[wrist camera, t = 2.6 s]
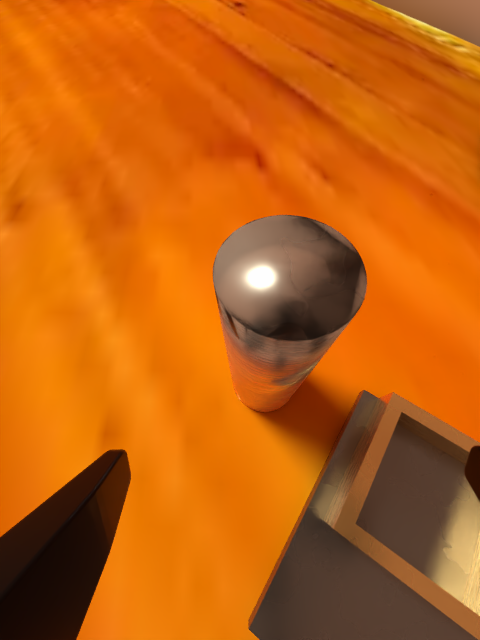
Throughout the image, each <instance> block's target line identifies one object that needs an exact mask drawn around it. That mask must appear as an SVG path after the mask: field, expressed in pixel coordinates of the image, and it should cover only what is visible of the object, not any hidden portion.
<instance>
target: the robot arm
mask: <svg viewBox="0 0 480 640" xmlns="http://www.w3.org/2000/svg"><path fill="white" fill-rule="evenodd" d="M464 473H465V477H466V479H467V481H468V483H469V485H470V486H471V488H472V490H473V491H474V493H475V495H476V496H477V498H478V500H479V502H480V445H476V446H473V447H472V448H471V450H470V453H469V456H468V459H467V462H466V465H465V468H464ZM130 479H131V472H130V467H129V462H128V457H127V453H126V451H125V450H123V449H120V450H109V451H107V452H106V453H104V454H103V455H102V456H101V457H99V458H98V459H97V460H96V461H94V462H93V463H92V464H91V465H89V466H88V467H87V468H86V469H84V470H83V471H82V472H81V473H79V474H78V475H77V476H76V477H74V478H73V479H72V480H71V481H70V482H68V483H67V484H66V485H65V486H63V487H62V488H61V489H60V490H58V491H57V492H56V493H55V494H53V495H52V496H51V497H50V498H48V499H47V500H46V501H45V502H43V503H42V504H41V505H40V506H38V507H37V508H36V509H35V510H34V511H32V512H31V513H30V514H29V515H27V516H26V517H25V518H24V519H22V520H21V521H20V522H19V523H17V524H16V525H15V526H14V527H12V528H11V529H10V530H9V531H7V532H6V533H5V534H4V535H2V536H1V537H0V640H76V639H77V636H78V634H79V631H80V629H81V626H82V623H83V621H84V618H85V616H86V613H87V610H88V608H89V605H90V603H91V600H92V597H93V595H94V592H95V590H96V587H97V584H98V582H99V579H100V577H101V574H102V571H103V569H104V566H105V564H106V561H107V558H108V555H109V553H110V550H111V546H112V543H113V540H114V537H115V533H116V530H117V526H118V523H119V519H120V516H121V512H122V509H123V505H124V502H125V498H126V495H127V491H128V488H129V484H130Z"/></svg>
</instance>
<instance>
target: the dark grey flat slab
mask: <svg viewBox="0 0 480 640" xmlns="http://www.w3.org/2000/svg"><path fill="white" fill-rule="evenodd" d="M476 445H480V443H479V442H477V441H476V440H474V439H472V438H471V437H469V436H467V435H465V434H464V433H462V432H460V431H459V430H457V429H455V428H453V427H452V426H450V425H448V424H447V423H445V422H443V421H441V420H440V419H438V418H436V417H435V416H433V415H431V414H430V413H428V412H426V411H424V410H423V409H421V408H419V407H418V406H416V405H414V404H412V403H411V402H409V401H407V400H406V399H404V398H402V397H400V396H399V395H397V394H395V393H394V392H393V393H390V394H388V395H386V396H383V397H381V398H377V397H375V396H374V395H372V394H370V393H369V392H367V391H365V390H363V391H361V392H360V393H359V395H358V397H357V399H356V401H355V403H354V405H353V407H352V409H351V411H350V414H349V416H348V418H347V420H346V422H345V424H344V426H343V428H342V430H341V432H340V434H339V436H338V438H337V440H336V442H335V444H334V446H333V448H332V450H331V452H330V454H329V456H328V459H327V461H326V463H325V465H324V467H323V469H322V471H321V473H320V475H319V477H318V479H317V481H316V483H315V485H314V487H313V489H312V491H311V493H310V495H309V497H308V499H307V502H306V504H305V506H304V508H303V510H302V512H301V514H300V516H299V518H298V520H297V522H296V524H295V526H294V528H293V530H292V532H291V534H290V536H289V538H288V540H287V542H286V545H285V547H284V549H283V551H282V553H281V555H280V557H279V559H278V561H277V563H276V565H275V567H274V569H273V571H272V573H271V575H270V577H269V579H268V581H267V583H266V585H265V587H264V590H263V592H262V594H261V596H260V598H259V600H258V602H257V604H256V606H255V608H254V610H253V612H252V614H251V616H250V618H249V630H250V631H251V632H252V633H253V634H254V635H255V636H257V637H258V638H259V639H260V640H480V502H479V500H478V498H477V496H476V495H475V493H474V491H473V490H472V488H471V486H470V485H469V483H468V481H467V479H466V477H465V473H464V468H465V465H466V462H467V459H468V456H469V453H470V450H471V448H472V447H473V446H476Z"/></svg>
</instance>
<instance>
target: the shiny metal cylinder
mask: <svg viewBox="0 0 480 640" xmlns="http://www.w3.org/2000/svg"><path fill="white" fill-rule="evenodd" d="M213 282H214V288H215V293H216V298H217V303H218V308H219V313H220V319H221V324H222V329H223V334H224V339H225V344H226V350H227V355H228V360H229V365H230V370H231V375H232V380H233V386H234V390H235V392H236V394H237V396H238V398H239V399H240V401H241V402H242V403H243V404H245V405H246V406H247V407H249V408H251V409H253V410H256V411H260V412H270V411H274V410H277V409H279V408H281V407H282V406H283V405H285V404H286V403H287V402H288V401H289V399H290V398H291V397H292V395H293V394H294V393H295V392H296V390H297V389H298V388H299V386H300V385H301V384H302V383H303V381H304V380H305V379H306V377H307V376H308V375H309V374H310V372H311V371H312V370H313V368H314V367H315V366H316V365H317V363H318V362H319V361H320V359H321V358H322V357H323V356H324V354H325V353H326V352H327V350H328V349H329V348H330V347H331V345H332V344H333V343H334V341H335V340H336V339H337V338H338V336H339V335H340V334H341V332H342V331H343V330H344V329H345V327H346V326H347V325H348V323H349V322H350V321H351V320H352V318H353V317H354V316H355V314H356V313H357V311H358V310H359V308H360V307H361V305H362V302H363V300H364V297H365V293H366V286H367V278H366V271H365V267H364V264H363V261H362V259H361V257H360V255H359V253H358V252H357V250H356V249H355V247H354V246H353V245H352V244H351V243H350V242H349V241H348V240H347V238H345V237H344V236H343V235H342V234H341V233H339V232H338V231H336V230H335V229H333V228H332V227H330V226H328V225H326V224H324V223H322V222H319V221H316V220H313V219H310V218H306V217H301V216H293V215H277V216H269V217H264V218H261V219H257V220H254V221H252V222H250V223H247V224H245V225H244V226H242V227H240V228H239V229H237V230H236V231H235V232H233V233H232V234H231V235H230V236H229V237H228V238H227V239H226V240H225V242H224V243H223V244H222V246H221V247H220V249H219V251H218V253H217V256H216V258H215V262H214V266H213Z"/></svg>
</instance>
